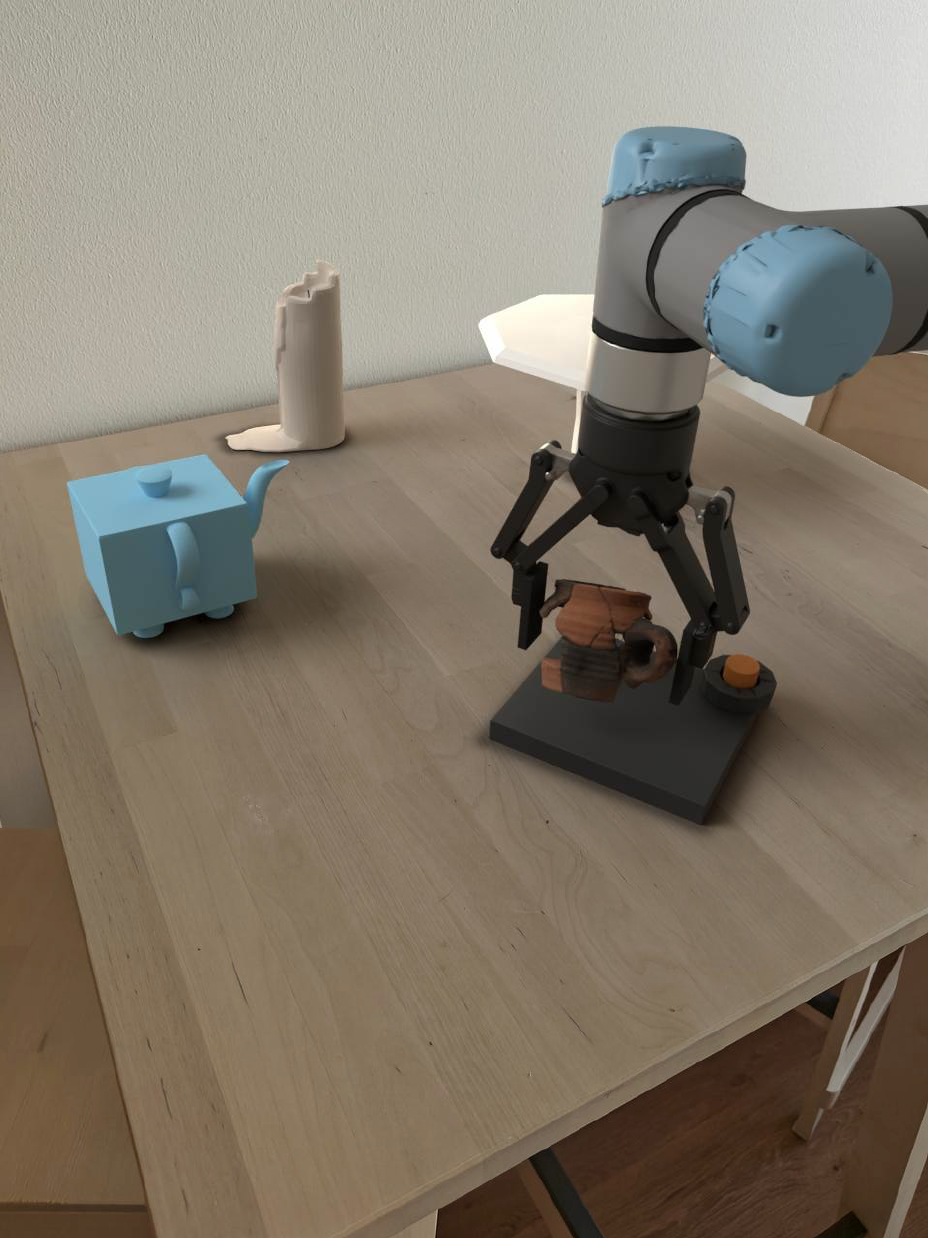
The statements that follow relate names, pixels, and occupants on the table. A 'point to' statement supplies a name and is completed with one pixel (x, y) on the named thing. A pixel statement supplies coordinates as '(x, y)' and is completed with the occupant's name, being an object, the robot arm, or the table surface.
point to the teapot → (169, 540)
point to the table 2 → (551, 341)
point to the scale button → (741, 671)
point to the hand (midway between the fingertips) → (602, 666)
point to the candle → (305, 368)
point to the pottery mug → (604, 641)
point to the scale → (640, 733)
